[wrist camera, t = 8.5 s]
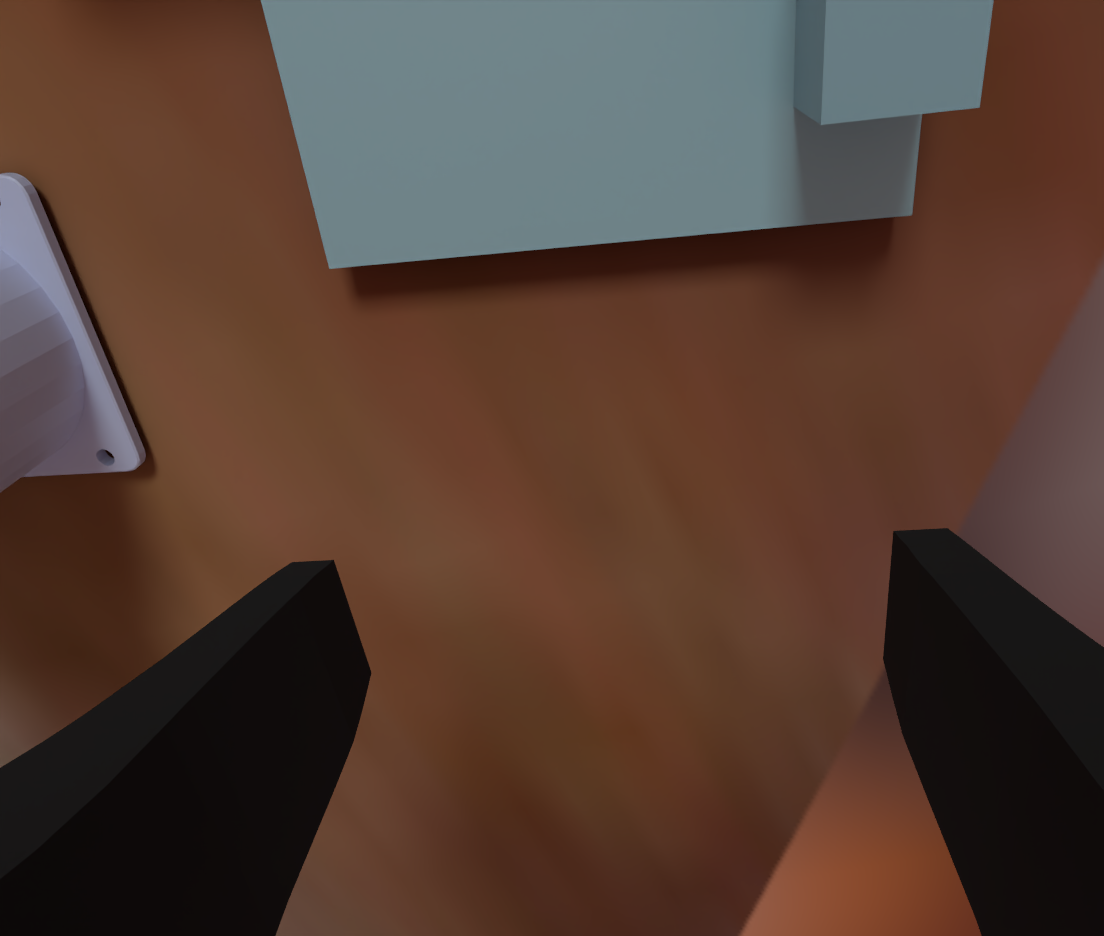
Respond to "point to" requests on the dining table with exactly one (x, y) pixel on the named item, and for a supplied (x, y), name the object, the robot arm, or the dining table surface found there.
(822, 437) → the dining table surface
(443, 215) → the lid
